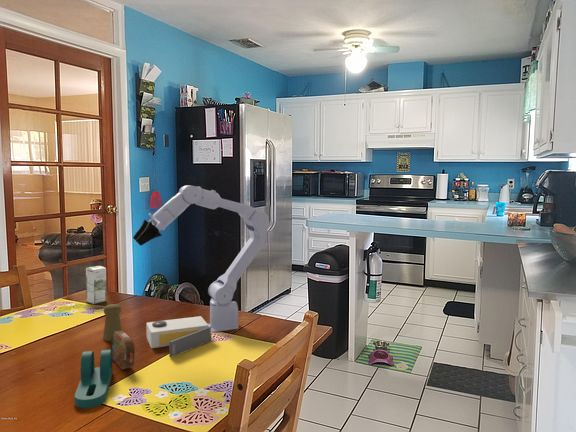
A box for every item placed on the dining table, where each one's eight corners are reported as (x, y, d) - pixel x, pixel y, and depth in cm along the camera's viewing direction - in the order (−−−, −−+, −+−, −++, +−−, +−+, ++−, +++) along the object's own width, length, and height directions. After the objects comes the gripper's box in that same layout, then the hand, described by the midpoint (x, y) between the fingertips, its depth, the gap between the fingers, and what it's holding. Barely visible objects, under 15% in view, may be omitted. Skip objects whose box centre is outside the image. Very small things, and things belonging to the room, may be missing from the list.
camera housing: (200, 330, 157) (200, 314, 157) (209, 340, 148) (209, 323, 147) (146, 337, 150) (146, 320, 149) (151, 349, 140) (151, 331, 140)
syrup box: (98, 299, 193) (98, 265, 192) (107, 301, 190) (106, 267, 189) (86, 302, 189) (85, 267, 187) (94, 304, 185) (93, 269, 184)
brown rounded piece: (110, 355, 135) (109, 327, 134) (120, 353, 137) (120, 326, 136) (125, 374, 123) (124, 344, 122) (136, 371, 125) (136, 341, 124)
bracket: (85, 376, 122) (84, 347, 121) (112, 373, 123) (112, 345, 122) (72, 410, 104) (71, 377, 103) (103, 407, 106) (103, 374, 105)
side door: (209, 339, 148) (209, 326, 147) (213, 340, 147) (213, 327, 146) (169, 356, 134) (169, 341, 134) (172, 357, 133) (172, 342, 133)
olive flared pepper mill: (116, 341, 146) (115, 308, 145) (99, 340, 147) (98, 306, 146) (126, 335, 151) (125, 302, 150) (110, 333, 153) (109, 301, 152)
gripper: (156, 202, 154) (125, 229, 151) (164, 205, 141) (130, 235, 138) (170, 217, 157) (140, 244, 153) (179, 221, 144) (146, 252, 140)
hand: (136, 241), depth 145 cm, fingers open, 7 cm apart
